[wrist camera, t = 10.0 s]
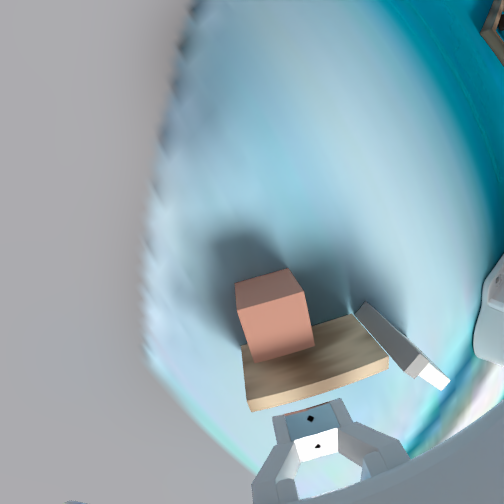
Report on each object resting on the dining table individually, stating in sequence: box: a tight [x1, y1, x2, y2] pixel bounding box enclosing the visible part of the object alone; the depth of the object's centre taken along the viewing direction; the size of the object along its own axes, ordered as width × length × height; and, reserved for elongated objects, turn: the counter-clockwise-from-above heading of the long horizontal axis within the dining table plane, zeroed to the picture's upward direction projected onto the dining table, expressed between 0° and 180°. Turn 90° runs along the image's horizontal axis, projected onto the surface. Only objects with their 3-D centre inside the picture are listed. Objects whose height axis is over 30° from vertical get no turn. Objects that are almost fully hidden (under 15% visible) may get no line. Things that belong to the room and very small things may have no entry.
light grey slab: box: [355, 301, 451, 391], centre depth 21 cm, size 2×8×9 cm, turn 53°
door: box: [241, 314, 389, 412], centre depth 21 cm, size 10×2×7 cm, turn 104°
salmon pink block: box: [235, 268, 315, 363], centre depth 21 cm, size 4×4×5 cm
